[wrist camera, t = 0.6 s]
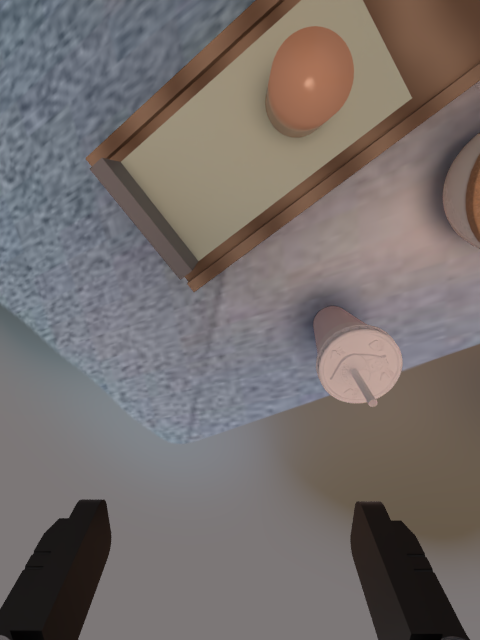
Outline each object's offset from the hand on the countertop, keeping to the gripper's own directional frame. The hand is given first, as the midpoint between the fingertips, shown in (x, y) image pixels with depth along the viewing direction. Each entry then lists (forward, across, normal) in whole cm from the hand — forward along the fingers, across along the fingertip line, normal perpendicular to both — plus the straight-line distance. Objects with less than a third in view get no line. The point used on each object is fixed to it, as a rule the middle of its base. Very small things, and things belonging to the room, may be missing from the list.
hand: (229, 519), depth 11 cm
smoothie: (+25, -10, +2) cm, 27 cm away
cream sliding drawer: (+23, -1, -14) cm, 27 cm away
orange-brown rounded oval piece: (+22, -5, -17) cm, 28 cm away
